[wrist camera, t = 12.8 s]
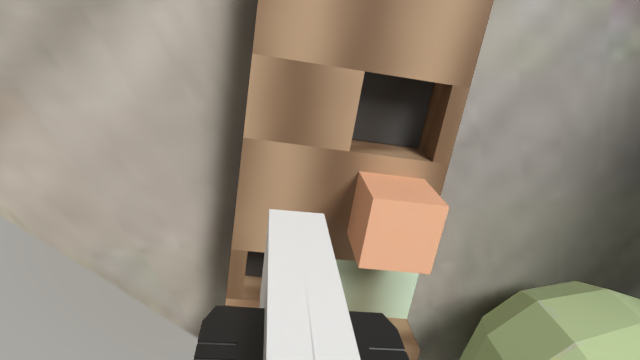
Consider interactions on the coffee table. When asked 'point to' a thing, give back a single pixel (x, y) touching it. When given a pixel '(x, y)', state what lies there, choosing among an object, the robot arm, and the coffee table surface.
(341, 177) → the wooden box
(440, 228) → the cube
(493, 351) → the decorative sphere
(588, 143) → the coffee table surface
